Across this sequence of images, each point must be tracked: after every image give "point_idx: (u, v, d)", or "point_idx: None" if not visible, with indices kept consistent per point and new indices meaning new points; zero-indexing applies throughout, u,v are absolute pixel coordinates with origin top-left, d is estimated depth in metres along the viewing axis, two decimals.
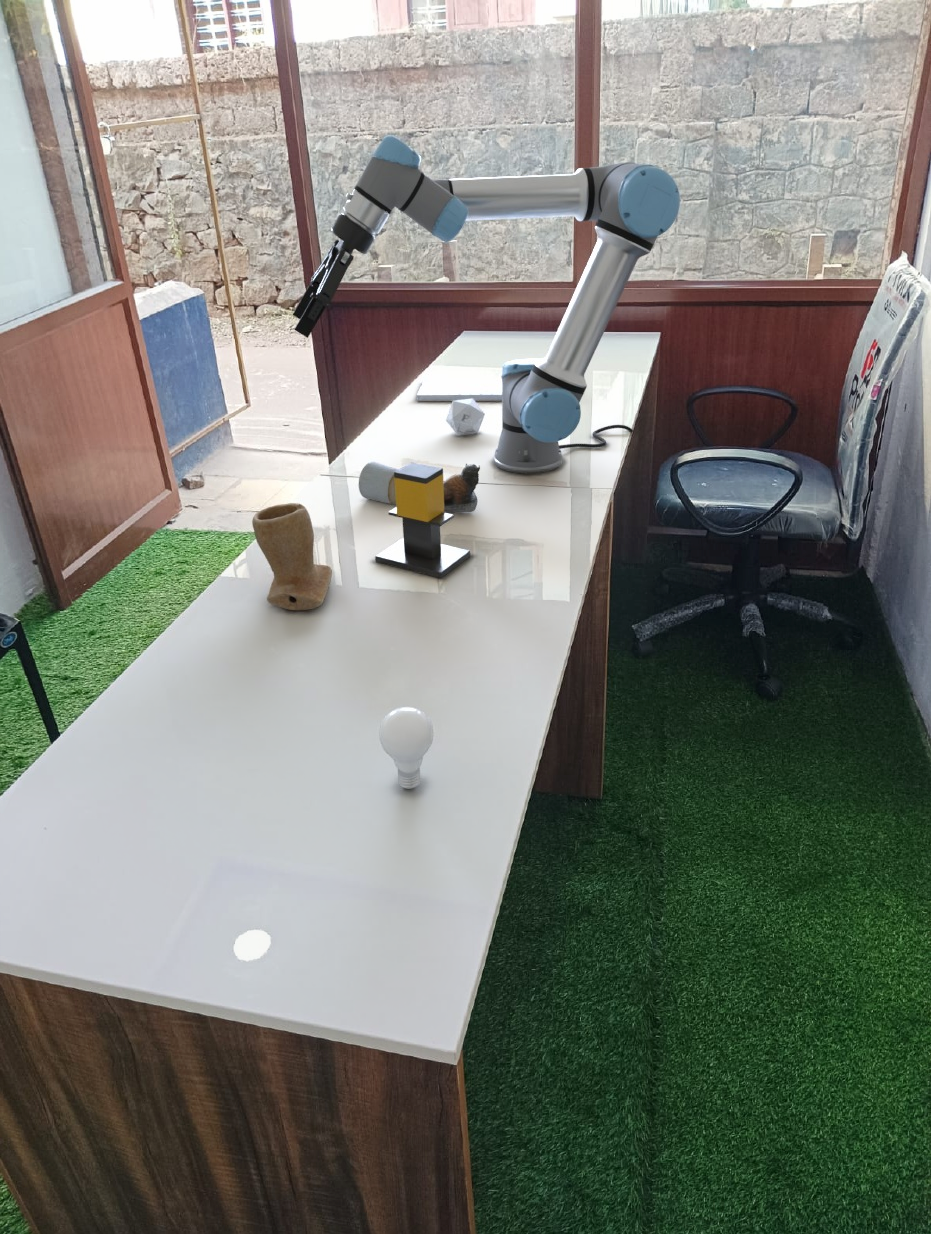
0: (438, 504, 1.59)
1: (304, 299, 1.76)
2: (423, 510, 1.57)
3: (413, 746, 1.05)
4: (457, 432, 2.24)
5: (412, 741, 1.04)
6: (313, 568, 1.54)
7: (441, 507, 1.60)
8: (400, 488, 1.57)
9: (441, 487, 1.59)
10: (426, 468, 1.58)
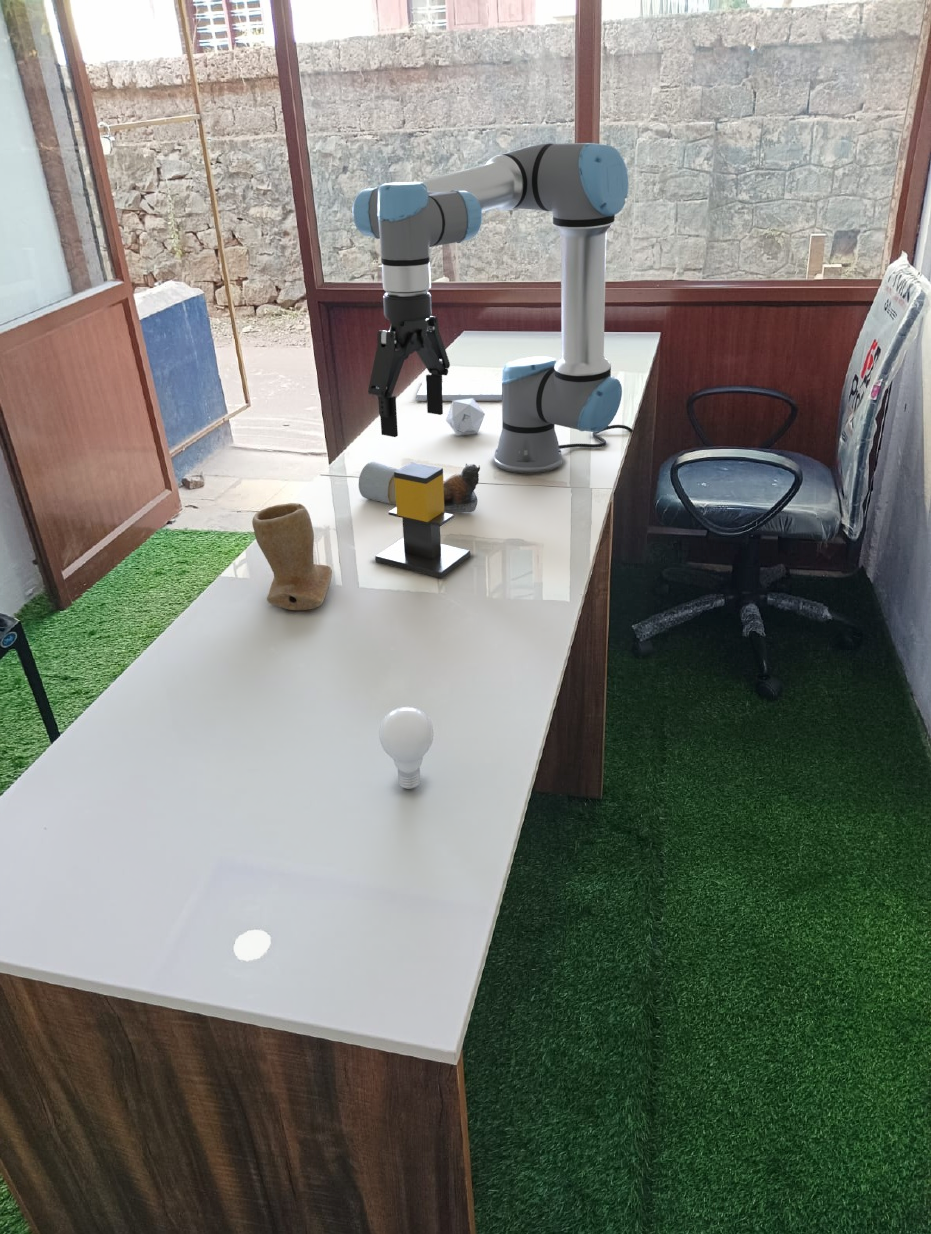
0: (438, 504, 1.59)
1: (428, 392, 1.57)
2: (423, 510, 1.57)
3: (413, 746, 1.05)
4: (457, 432, 2.24)
5: (412, 741, 1.04)
6: (313, 568, 1.54)
7: (441, 507, 1.60)
8: (400, 488, 1.57)
9: (441, 487, 1.59)
10: (426, 468, 1.58)
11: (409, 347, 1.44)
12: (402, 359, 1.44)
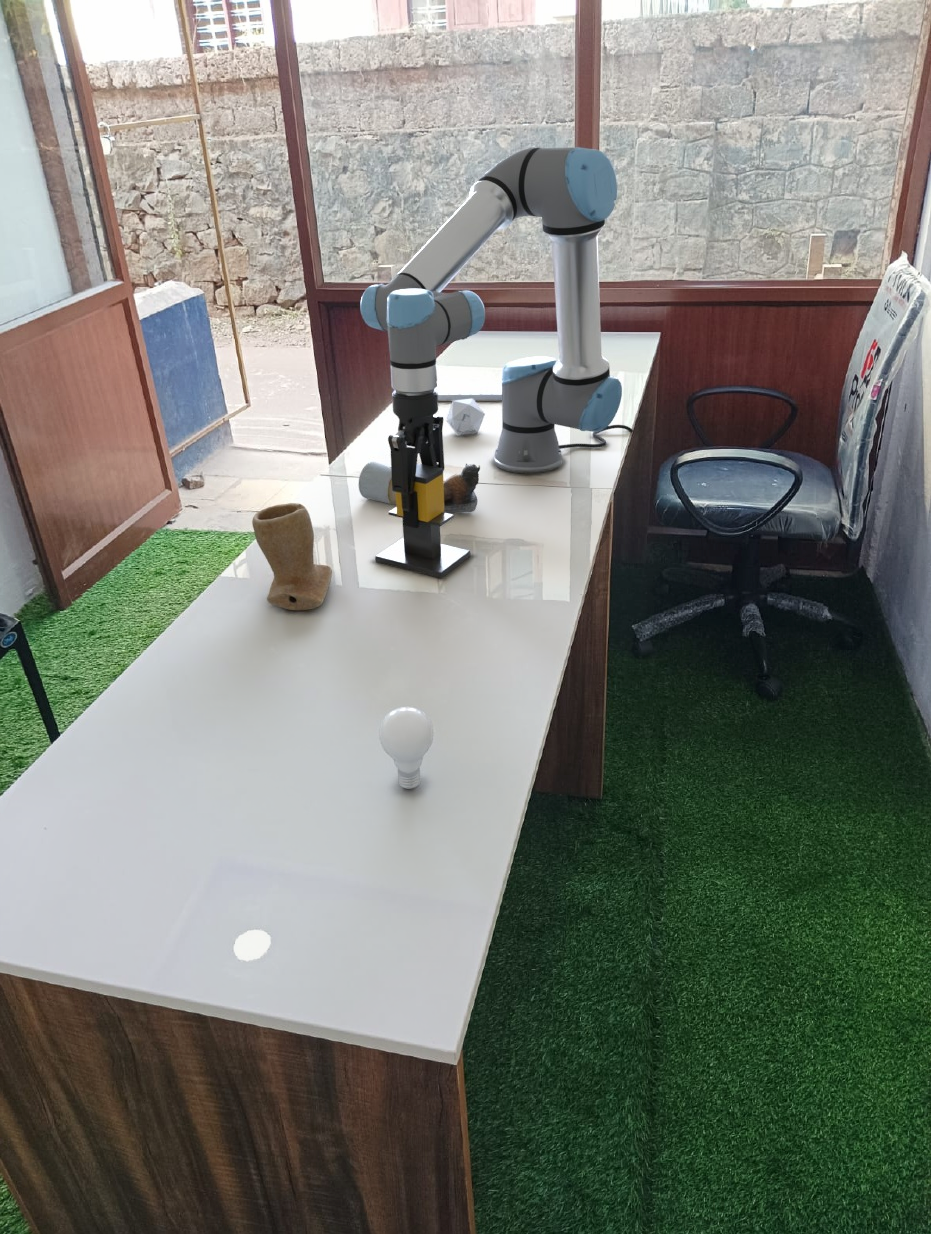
0: (438, 504, 1.59)
1: None
2: (423, 510, 1.57)
3: (413, 746, 1.05)
4: (457, 432, 2.24)
5: (412, 741, 1.04)
6: (313, 568, 1.54)
7: (441, 507, 1.60)
8: None
9: (441, 487, 1.59)
10: (426, 468, 1.58)
11: (419, 442, 1.52)
12: (416, 455, 1.53)
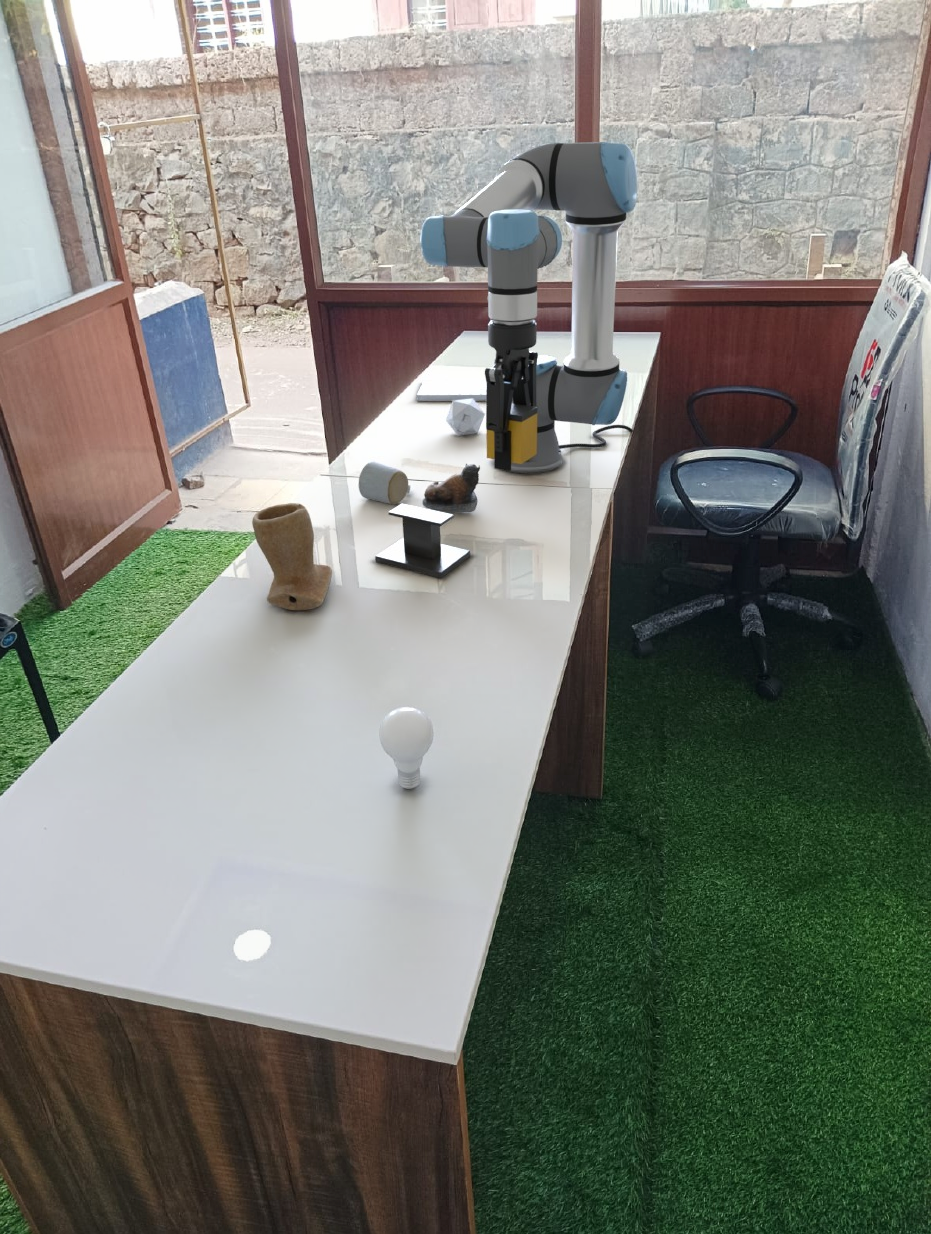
0: (531, 446, 1.50)
1: None
2: (517, 451, 1.48)
3: (413, 746, 1.05)
4: (457, 432, 2.24)
5: (412, 741, 1.04)
6: (313, 568, 1.54)
7: (534, 450, 1.51)
8: None
9: (535, 427, 1.50)
10: (520, 407, 1.49)
11: (516, 377, 1.43)
12: (511, 390, 1.44)
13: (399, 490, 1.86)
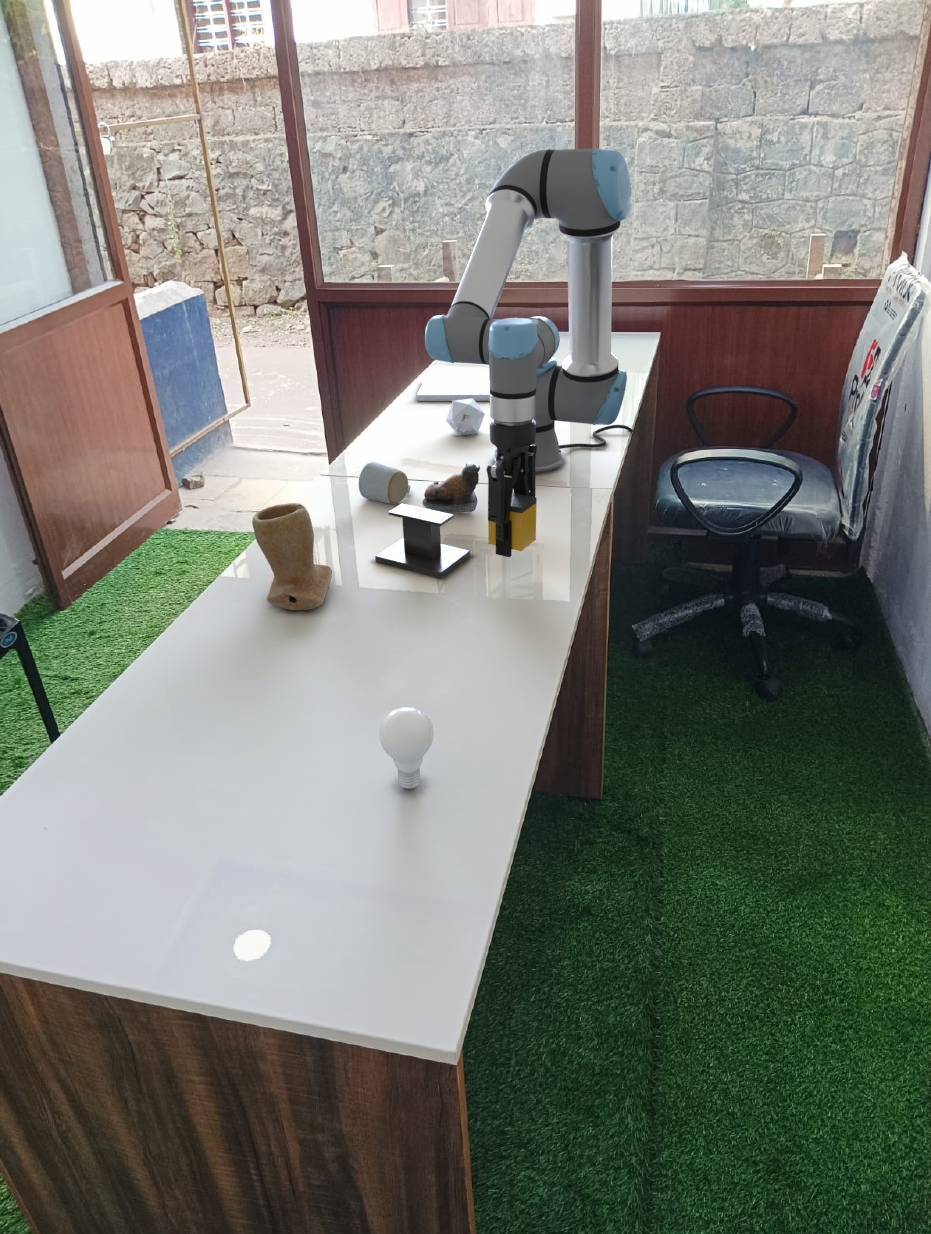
0: (531, 533, 1.58)
1: None
2: (517, 539, 1.56)
3: (413, 746, 1.05)
4: (457, 432, 2.24)
5: (412, 741, 1.04)
6: (313, 568, 1.54)
7: (533, 536, 1.59)
8: None
9: (534, 516, 1.57)
10: (520, 497, 1.56)
11: (516, 472, 1.51)
12: (512, 484, 1.52)
13: (399, 490, 1.86)
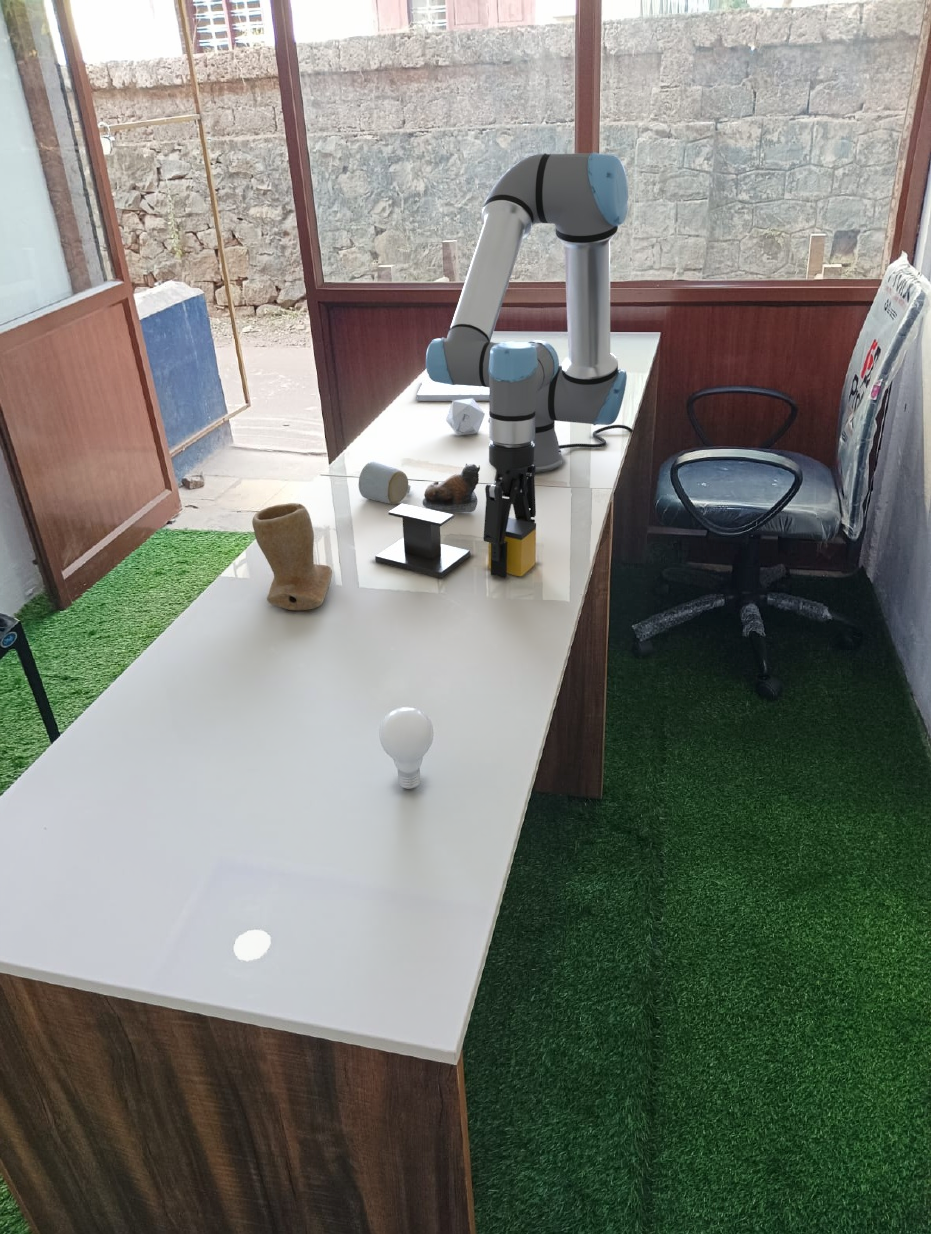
0: (530, 558, 1.60)
1: None
2: (517, 565, 1.58)
3: (413, 746, 1.05)
4: (457, 432, 2.24)
5: (412, 741, 1.04)
6: (313, 568, 1.54)
7: (533, 561, 1.61)
8: None
9: (534, 541, 1.60)
10: (520, 523, 1.59)
11: (514, 493, 1.52)
12: (509, 505, 1.53)
13: (399, 490, 1.86)
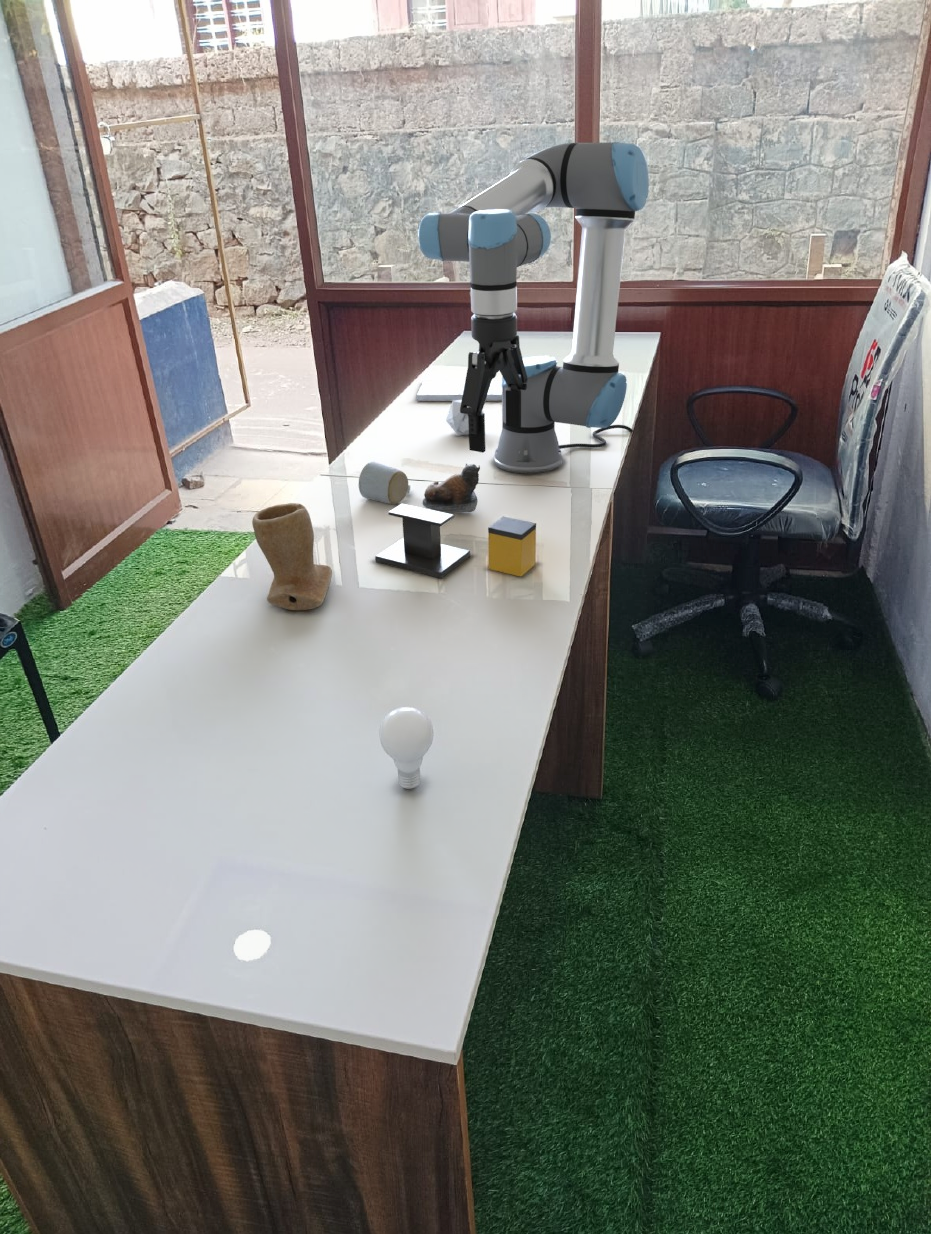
0: (530, 558, 1.60)
1: (508, 406, 1.64)
2: (517, 565, 1.58)
3: (413, 746, 1.05)
4: (457, 432, 2.24)
5: (412, 741, 1.04)
6: (313, 568, 1.54)
7: (533, 561, 1.61)
8: (494, 543, 1.58)
9: (534, 541, 1.60)
10: (520, 523, 1.59)
11: (496, 366, 1.51)
12: (490, 378, 1.51)
13: (399, 490, 1.86)
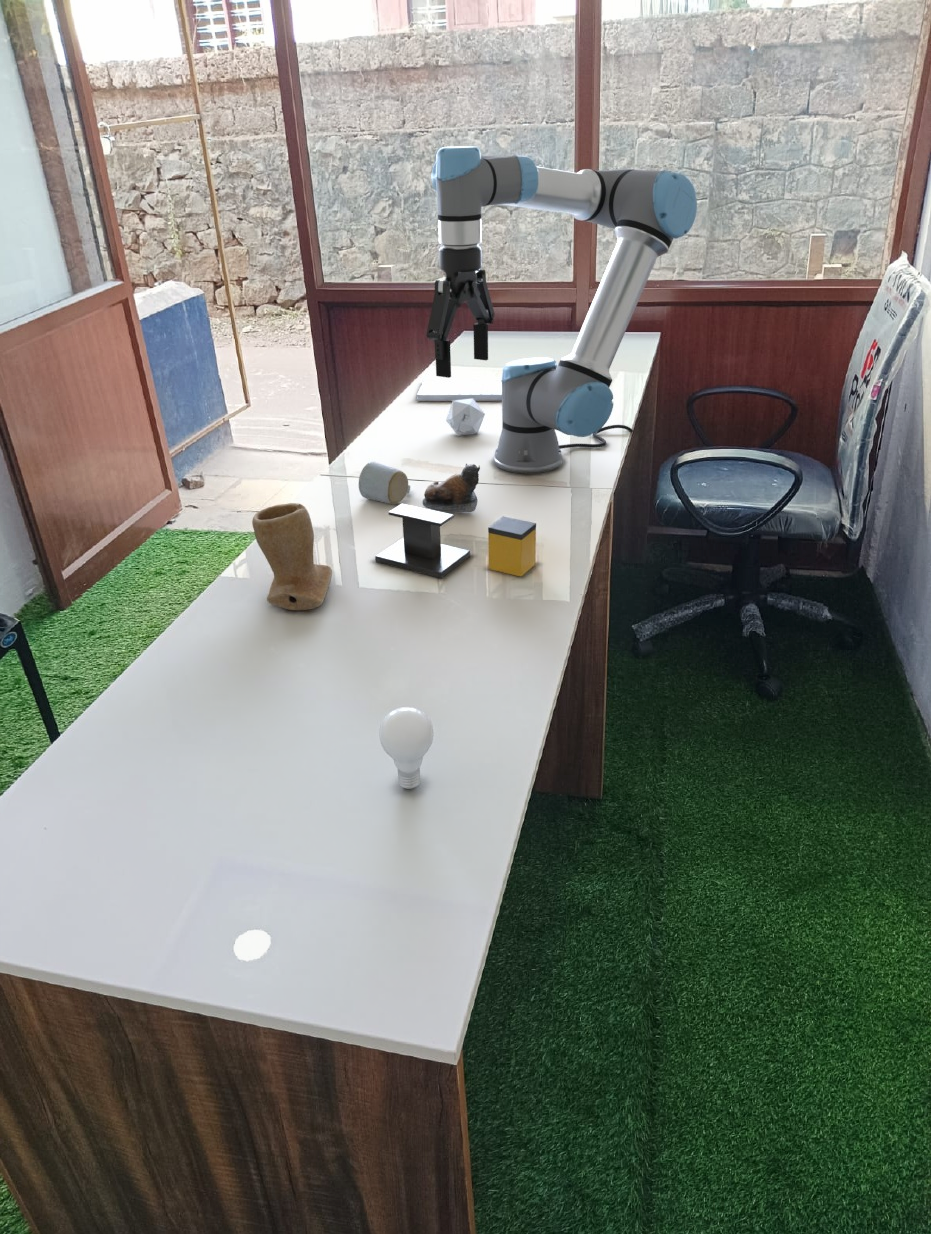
0: (530, 558, 1.60)
1: (475, 339, 1.74)
2: (517, 565, 1.58)
3: (413, 746, 1.05)
4: (457, 432, 2.24)
5: (412, 741, 1.04)
6: (313, 568, 1.54)
7: (533, 561, 1.61)
8: (494, 543, 1.58)
9: (534, 541, 1.60)
10: (520, 523, 1.59)
11: (462, 296, 1.61)
12: (456, 306, 1.61)
13: (399, 490, 1.86)
